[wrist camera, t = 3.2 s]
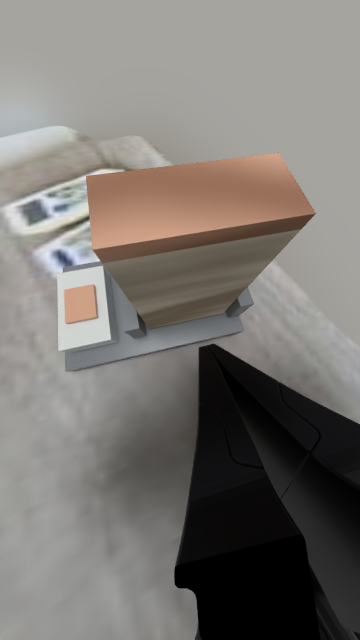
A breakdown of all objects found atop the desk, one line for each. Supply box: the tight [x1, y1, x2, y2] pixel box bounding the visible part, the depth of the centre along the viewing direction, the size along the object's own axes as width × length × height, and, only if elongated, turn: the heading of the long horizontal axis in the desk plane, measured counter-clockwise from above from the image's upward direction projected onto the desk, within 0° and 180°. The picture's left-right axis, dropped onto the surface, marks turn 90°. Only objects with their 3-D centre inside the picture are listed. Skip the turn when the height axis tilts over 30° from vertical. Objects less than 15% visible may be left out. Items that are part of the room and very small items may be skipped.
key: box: [86, 153, 316, 329], centre depth 10 cm, size 3×7×10 cm, turn 103°
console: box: [57, 261, 254, 372], centre depth 14 cm, size 10×16×5 cm, turn 103°
